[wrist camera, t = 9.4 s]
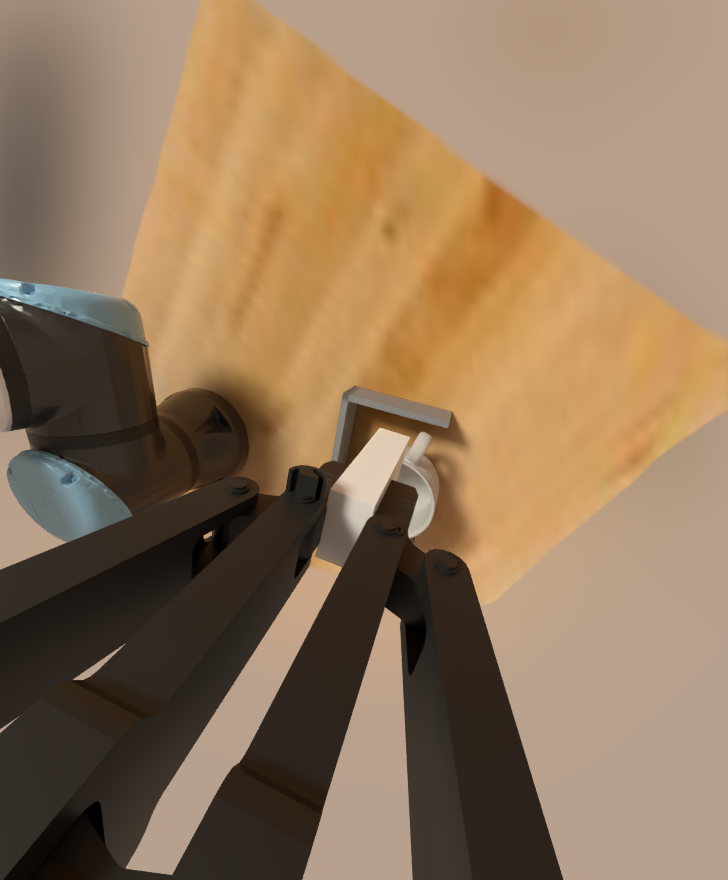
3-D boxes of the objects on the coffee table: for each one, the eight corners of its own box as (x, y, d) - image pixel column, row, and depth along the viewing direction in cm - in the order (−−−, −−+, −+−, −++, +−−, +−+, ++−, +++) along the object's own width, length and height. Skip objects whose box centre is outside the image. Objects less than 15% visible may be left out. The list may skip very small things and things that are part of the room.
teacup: (407, 522, 51) (396, 557, 44) (348, 474, 52) (327, 500, 44) (476, 455, 45) (476, 482, 38) (409, 400, 46) (396, 417, 38)
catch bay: (333, 500, 54) (322, 515, 50) (354, 386, 47) (342, 393, 43) (417, 528, 51) (412, 547, 47) (452, 411, 44) (449, 421, 40)
